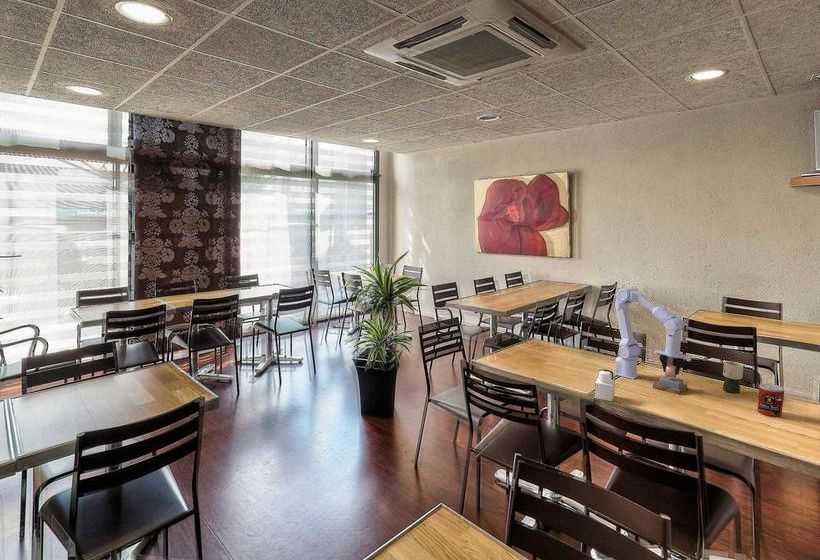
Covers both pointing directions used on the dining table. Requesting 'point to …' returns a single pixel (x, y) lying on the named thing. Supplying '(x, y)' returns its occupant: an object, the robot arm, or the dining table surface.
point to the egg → (670, 371)
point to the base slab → (670, 390)
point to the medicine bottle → (605, 385)
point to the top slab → (671, 382)
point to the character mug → (732, 376)
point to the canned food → (770, 400)
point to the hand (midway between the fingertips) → (671, 372)
